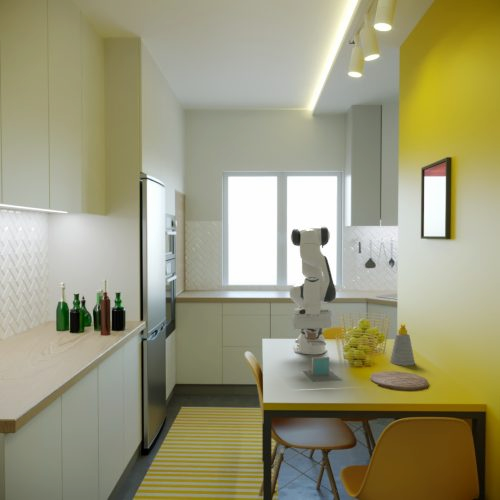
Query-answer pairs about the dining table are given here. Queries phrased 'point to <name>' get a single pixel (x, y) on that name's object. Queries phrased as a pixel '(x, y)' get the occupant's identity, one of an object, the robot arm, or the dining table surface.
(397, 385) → the trivet
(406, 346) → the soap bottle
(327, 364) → the tile
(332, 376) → the mat
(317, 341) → the turner
